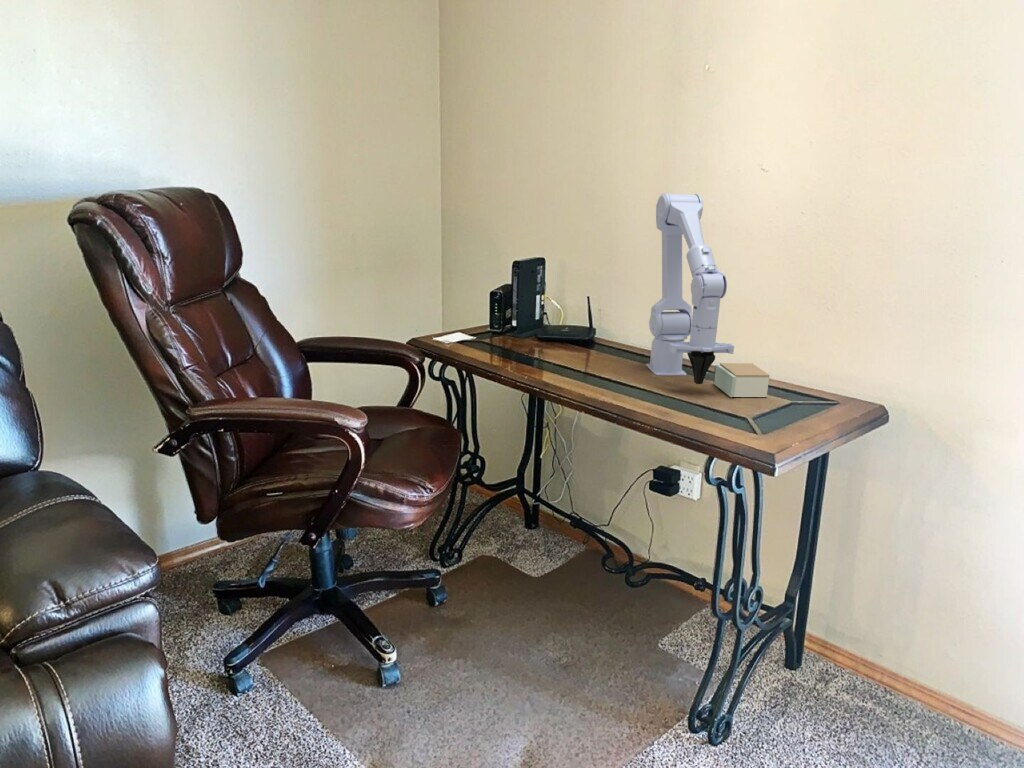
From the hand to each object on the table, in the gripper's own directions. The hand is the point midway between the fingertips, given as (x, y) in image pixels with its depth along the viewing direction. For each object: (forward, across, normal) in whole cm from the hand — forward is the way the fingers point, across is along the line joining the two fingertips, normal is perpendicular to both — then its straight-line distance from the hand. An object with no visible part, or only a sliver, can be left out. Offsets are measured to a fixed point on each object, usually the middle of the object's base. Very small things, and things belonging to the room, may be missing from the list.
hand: (698, 382), depth 183 cm
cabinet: (+2, +11, +1) cm, 11 cm away
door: (+2, +7, +1) cm, 7 cm away
